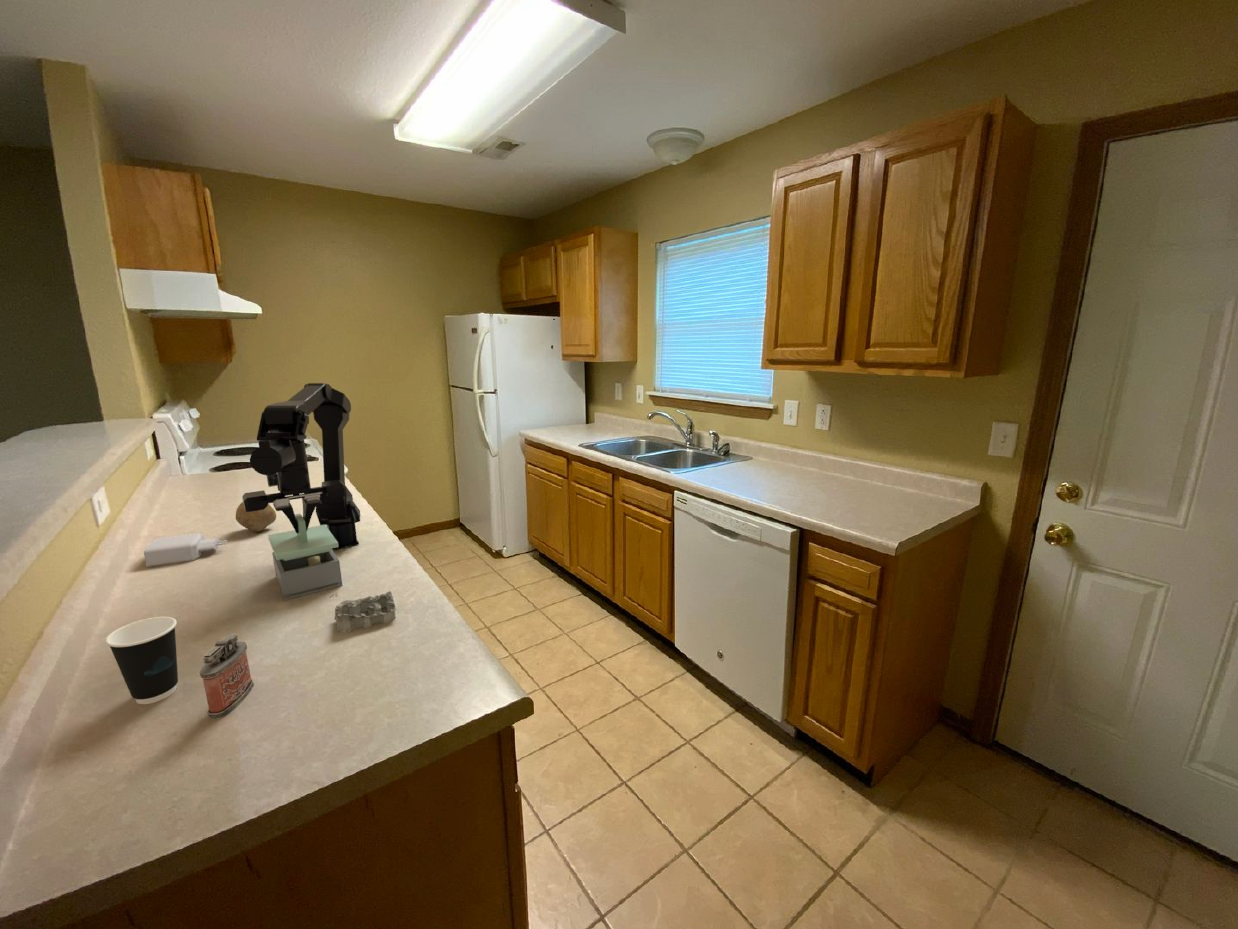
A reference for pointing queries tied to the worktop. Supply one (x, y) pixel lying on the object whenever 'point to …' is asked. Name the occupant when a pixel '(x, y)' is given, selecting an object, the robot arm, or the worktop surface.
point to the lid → (302, 541)
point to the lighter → (226, 676)
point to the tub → (307, 574)
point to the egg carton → (351, 611)
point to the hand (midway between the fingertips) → (301, 532)
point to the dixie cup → (147, 657)
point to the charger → (178, 549)
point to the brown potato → (255, 518)
